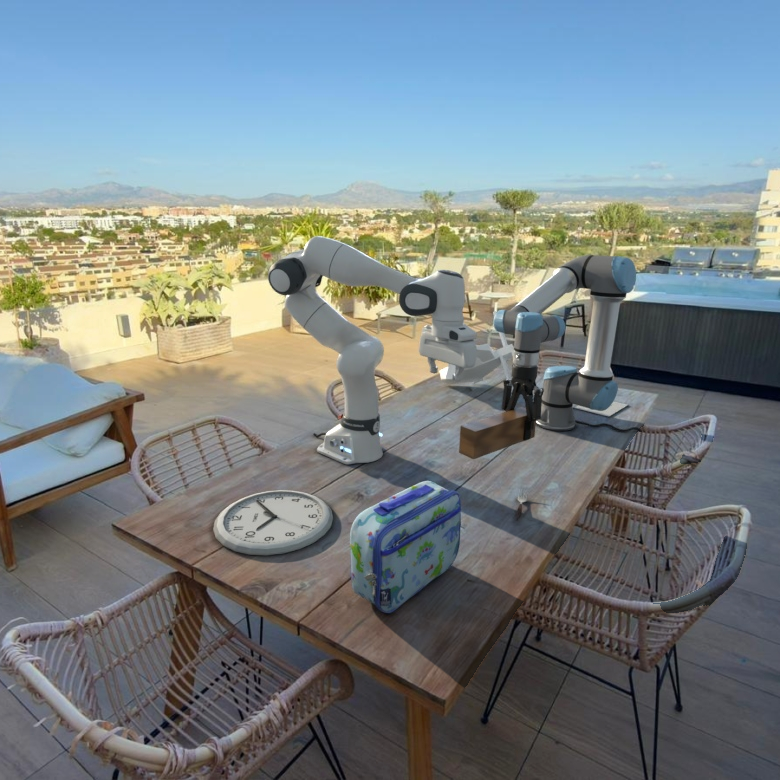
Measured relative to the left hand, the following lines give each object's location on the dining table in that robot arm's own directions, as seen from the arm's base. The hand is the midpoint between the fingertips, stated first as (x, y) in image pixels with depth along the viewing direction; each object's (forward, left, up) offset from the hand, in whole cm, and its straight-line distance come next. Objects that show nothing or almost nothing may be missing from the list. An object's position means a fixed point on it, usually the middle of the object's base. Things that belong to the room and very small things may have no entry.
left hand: (444, 376), depth 151 cm
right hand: (+18, +18, -21) cm, 33 cm away
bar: (+15, +9, -21) cm, 27 cm away
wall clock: (-25, -47, -32) cm, 62 cm away
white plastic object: (-21, +87, -32) cm, 95 cm away
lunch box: (+16, -50, -32) cm, 62 cm away
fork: (+27, -6, -32) cm, 42 cm away
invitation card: (+31, +97, -32) cm, 107 cm away
